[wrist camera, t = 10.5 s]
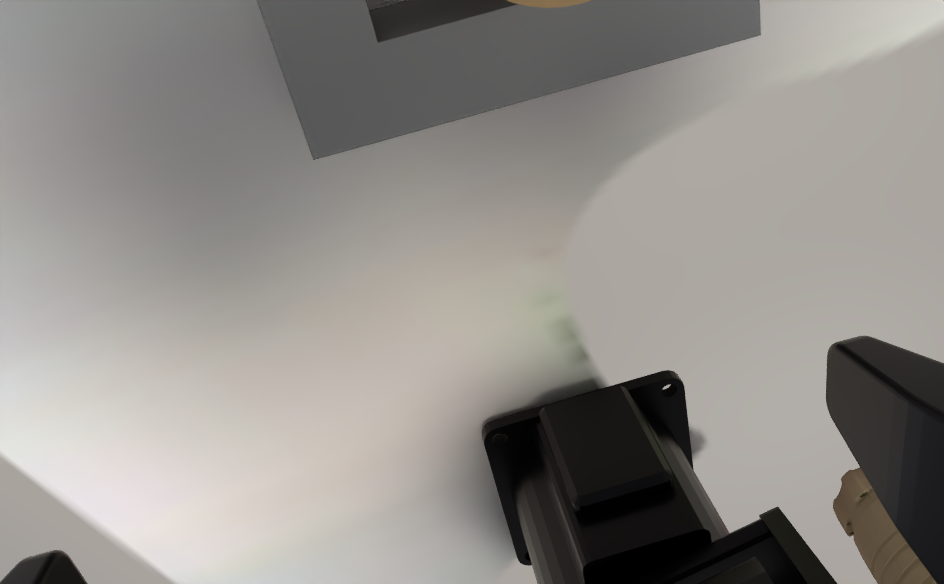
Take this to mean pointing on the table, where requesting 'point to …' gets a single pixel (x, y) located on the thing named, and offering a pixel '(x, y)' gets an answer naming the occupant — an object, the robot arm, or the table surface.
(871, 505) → the handle
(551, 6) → the long peg
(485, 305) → the table surface
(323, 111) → the block
